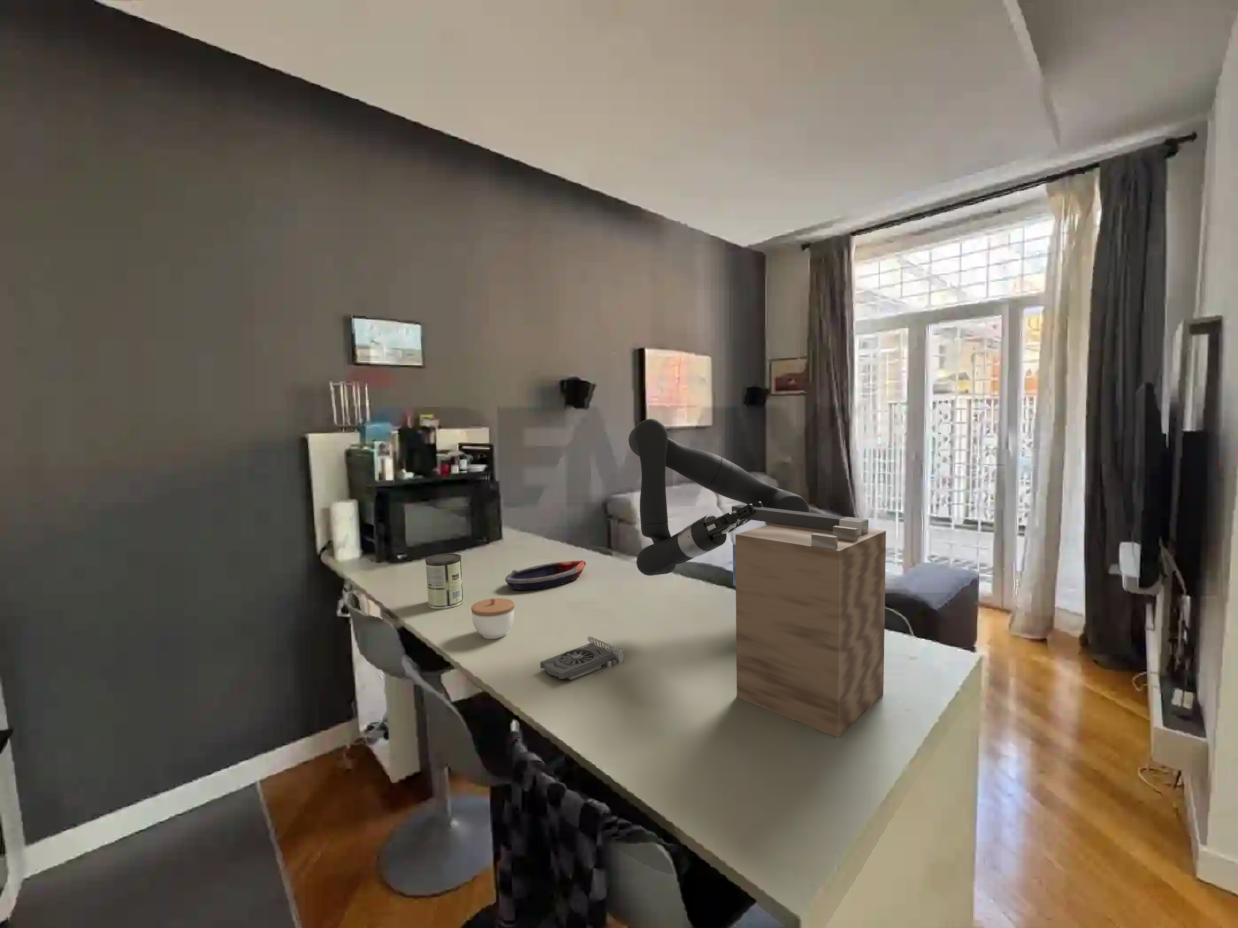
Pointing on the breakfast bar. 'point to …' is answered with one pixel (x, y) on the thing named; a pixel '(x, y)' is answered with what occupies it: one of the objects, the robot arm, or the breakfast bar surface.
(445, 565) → the coffee can
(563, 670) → the graphics card
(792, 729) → the breakfast bar surface
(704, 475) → the robot arm
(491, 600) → the lidded jar
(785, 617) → the cabinet
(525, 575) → the dish
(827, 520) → the dark gray rectangular panel
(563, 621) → the breakfast bar surface
